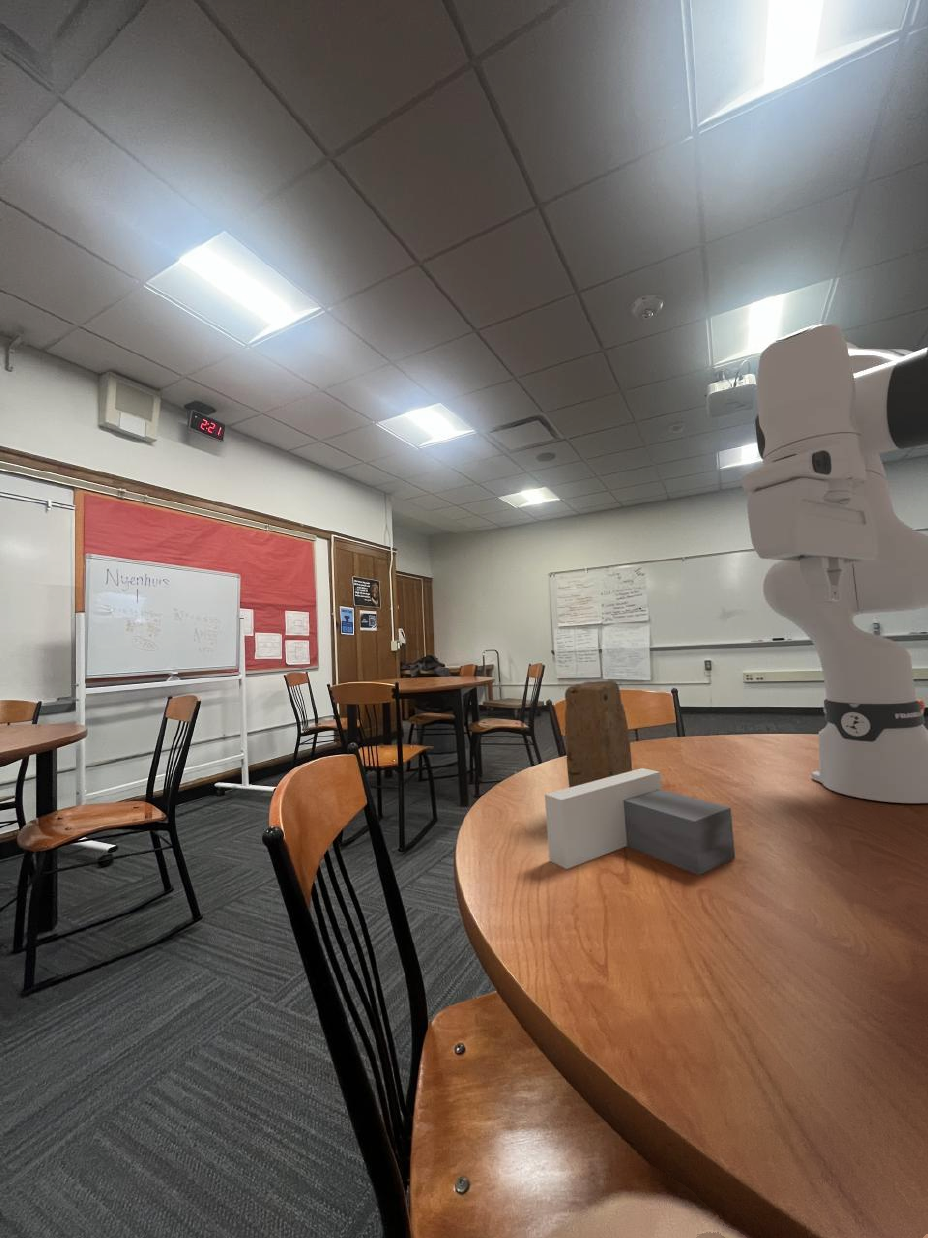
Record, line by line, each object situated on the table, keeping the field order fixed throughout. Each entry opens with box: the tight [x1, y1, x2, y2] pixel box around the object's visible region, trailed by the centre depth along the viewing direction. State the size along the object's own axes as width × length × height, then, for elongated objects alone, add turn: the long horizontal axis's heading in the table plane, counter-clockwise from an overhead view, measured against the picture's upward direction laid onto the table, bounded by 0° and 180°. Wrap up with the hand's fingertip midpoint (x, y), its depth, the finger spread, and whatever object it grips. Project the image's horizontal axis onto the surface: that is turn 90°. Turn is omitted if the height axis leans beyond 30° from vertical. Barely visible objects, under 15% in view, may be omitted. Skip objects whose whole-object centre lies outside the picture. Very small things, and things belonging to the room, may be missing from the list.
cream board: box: [544, 767, 663, 870], centre depth 63 cm, size 18×3×8 cm, turn 121°
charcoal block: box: [624, 789, 736, 876], centre depth 60 cm, size 7×10×6 cm
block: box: [564, 680, 633, 788], centre depth 77 cm, size 11×8×20 cm
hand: (826, 602), depth 52 cm, fingers closed
